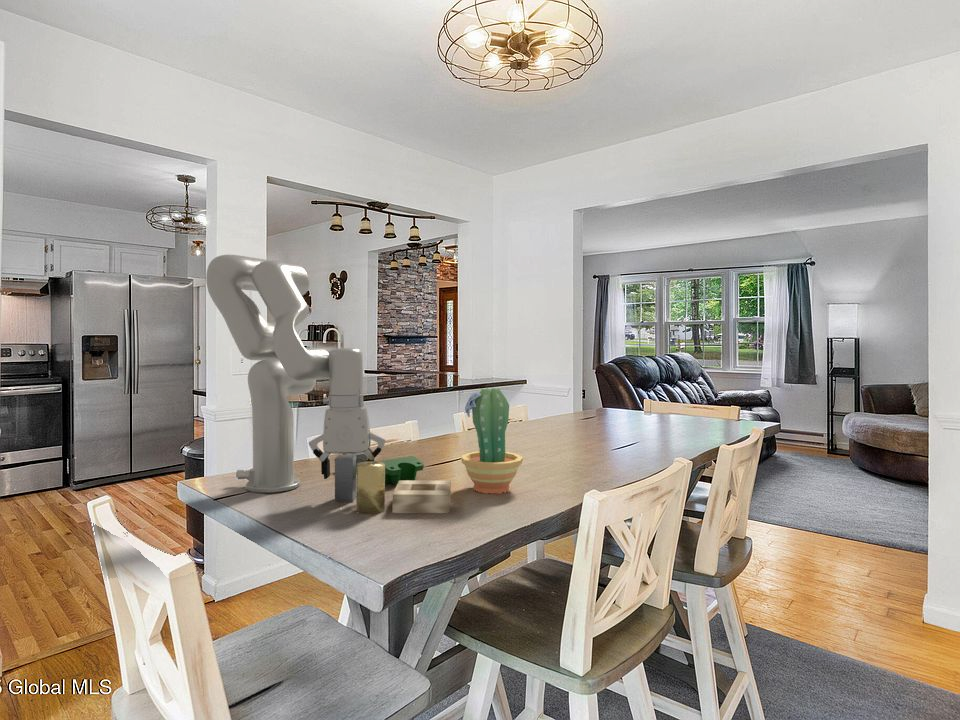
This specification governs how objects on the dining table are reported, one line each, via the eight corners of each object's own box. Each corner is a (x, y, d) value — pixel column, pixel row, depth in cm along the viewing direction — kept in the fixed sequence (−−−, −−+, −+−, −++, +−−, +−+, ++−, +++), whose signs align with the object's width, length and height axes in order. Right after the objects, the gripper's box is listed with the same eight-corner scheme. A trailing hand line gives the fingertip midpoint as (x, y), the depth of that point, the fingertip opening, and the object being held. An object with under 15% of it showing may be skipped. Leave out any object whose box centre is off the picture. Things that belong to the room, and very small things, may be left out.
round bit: (353, 514, 121) (354, 467, 121) (359, 506, 127) (359, 461, 127) (382, 514, 121) (382, 467, 121) (386, 506, 127) (386, 461, 127)
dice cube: (342, 470, 161) (342, 452, 161) (358, 467, 164) (358, 450, 164) (351, 473, 157) (351, 455, 157) (367, 471, 161) (367, 453, 160)
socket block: (392, 513, 122) (392, 494, 122) (399, 497, 134) (399, 480, 134) (449, 513, 123) (449, 494, 122) (450, 497, 135) (450, 480, 134)
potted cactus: (480, 478, 153) (481, 384, 152) (533, 486, 146) (534, 387, 145) (448, 491, 140) (449, 389, 139) (504, 501, 132) (506, 392, 131)
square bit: (334, 502, 130) (334, 458, 130) (338, 497, 134) (338, 454, 134) (352, 502, 130) (352, 458, 130) (356, 497, 134) (356, 454, 134)
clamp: (391, 502, 145) (384, 474, 141) (378, 492, 149) (371, 464, 145) (429, 478, 152) (423, 451, 148) (415, 469, 156) (409, 442, 152)
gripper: (303, 404, 127) (305, 481, 127) (382, 403, 127) (383, 480, 128) (312, 401, 135) (314, 474, 135) (386, 400, 135) (388, 472, 135)
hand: (348, 477), depth 131 cm, fingers open, 9 cm apart
